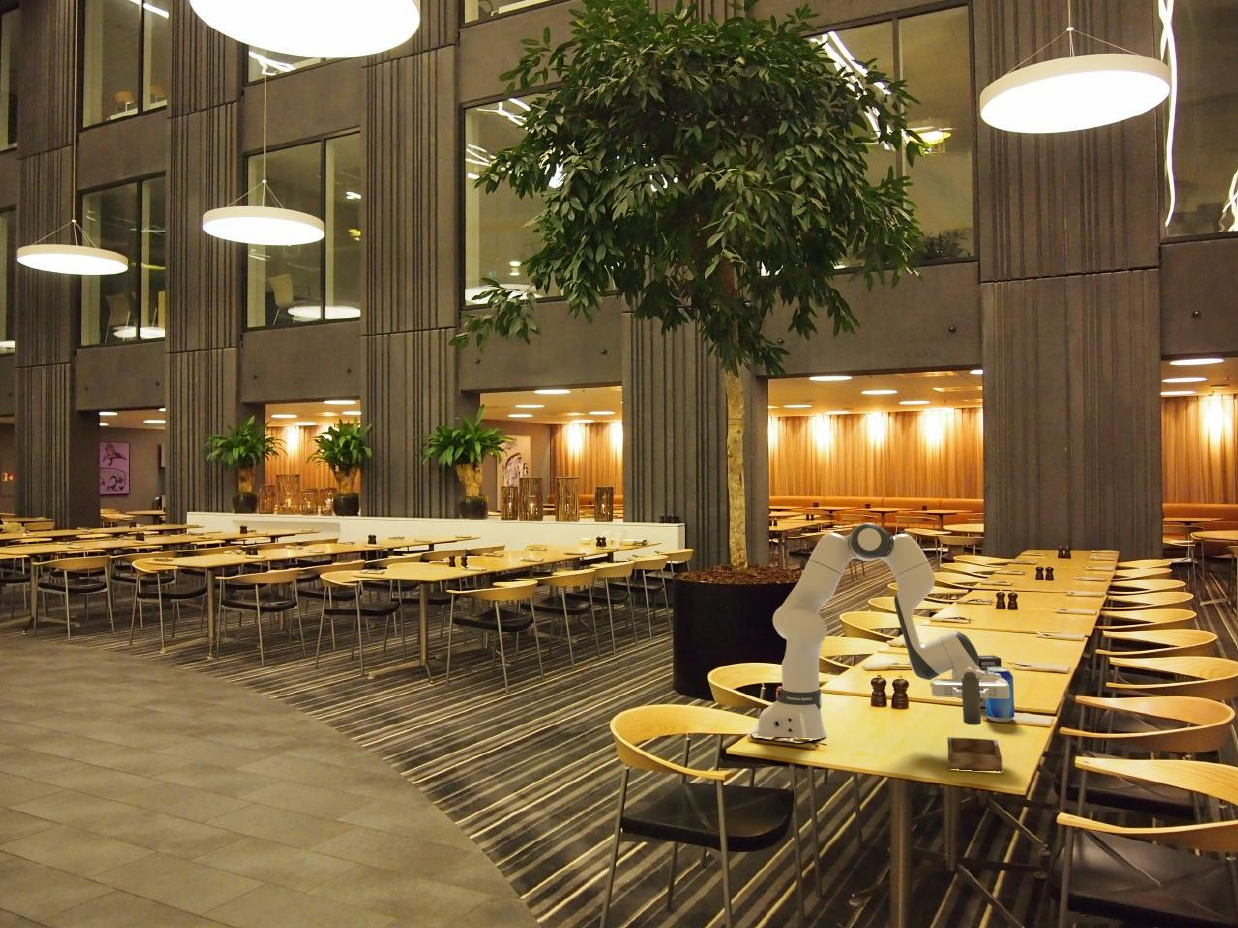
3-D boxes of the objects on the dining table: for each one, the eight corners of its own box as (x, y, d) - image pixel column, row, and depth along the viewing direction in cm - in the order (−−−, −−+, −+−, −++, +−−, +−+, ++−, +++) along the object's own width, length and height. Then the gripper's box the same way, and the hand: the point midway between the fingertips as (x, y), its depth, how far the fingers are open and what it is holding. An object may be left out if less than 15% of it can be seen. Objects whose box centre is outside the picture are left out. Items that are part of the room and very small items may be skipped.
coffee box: (976, 707, 308) (974, 658, 309) (969, 702, 315) (967, 655, 315) (1003, 706, 308) (1001, 658, 308) (996, 701, 314) (994, 654, 315)
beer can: (1007, 715, 297) (1005, 665, 297) (1019, 722, 288) (1017, 670, 289) (981, 716, 296) (979, 666, 297) (992, 723, 288) (990, 671, 288)
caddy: (949, 770, 244) (948, 753, 244) (947, 753, 259) (947, 736, 259) (1002, 773, 239) (1001, 756, 239) (997, 756, 255) (997, 739, 255)
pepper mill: (963, 724, 248) (961, 669, 249) (963, 719, 253) (960, 666, 253) (981, 724, 247) (978, 669, 247) (980, 720, 251) (977, 666, 251)
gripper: (929, 671, 265) (930, 682, 252) (1006, 673, 259) (1010, 684, 246) (930, 693, 265) (931, 705, 252) (1007, 696, 259) (1012, 708, 246)
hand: (971, 695), depth 249 cm, fingers closed on pepper mill, 4 cm apart
